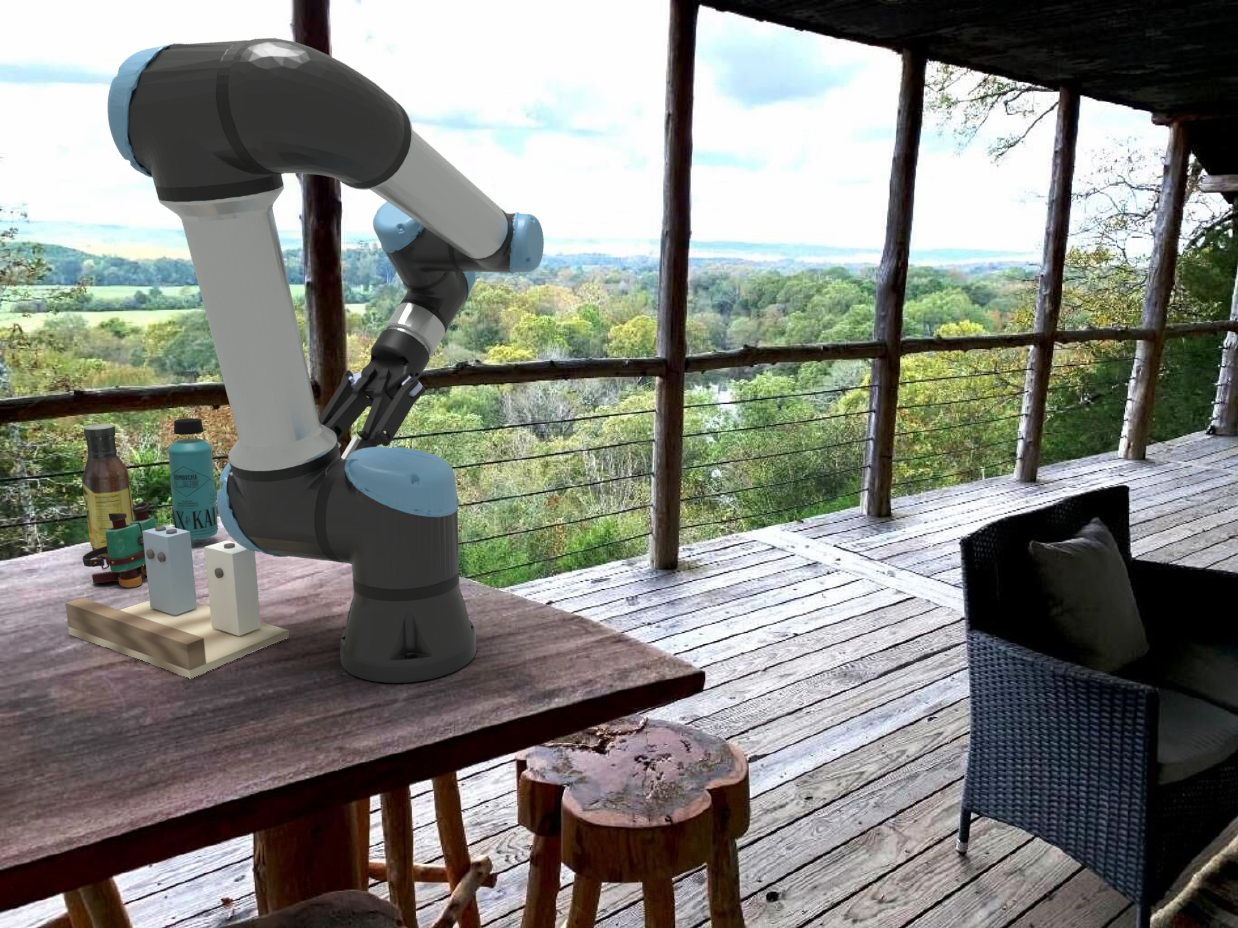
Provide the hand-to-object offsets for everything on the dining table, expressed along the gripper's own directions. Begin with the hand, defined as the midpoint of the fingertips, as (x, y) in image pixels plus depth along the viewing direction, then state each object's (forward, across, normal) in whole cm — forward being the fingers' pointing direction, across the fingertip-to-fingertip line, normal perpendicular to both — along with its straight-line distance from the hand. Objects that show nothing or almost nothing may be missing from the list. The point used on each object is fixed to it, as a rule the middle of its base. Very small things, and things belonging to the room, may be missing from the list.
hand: (322, 481), depth 117 cm
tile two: (+21, +12, 0) cm, 24 cm away
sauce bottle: (+14, +43, -9) cm, 46 cm away
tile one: (+21, 0, 0) cm, 21 cm away
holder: (+24, +6, +1) cm, 25 cm away
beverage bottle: (+7, +37, -16) cm, 41 cm away
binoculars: (+18, +31, -5) cm, 36 cm away
